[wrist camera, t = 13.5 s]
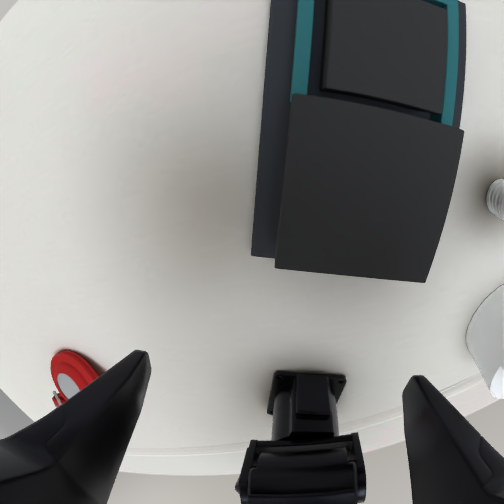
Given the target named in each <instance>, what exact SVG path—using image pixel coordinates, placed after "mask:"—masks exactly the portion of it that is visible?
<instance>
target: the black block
mask: <svg viewBox="0 0 504 504" xmlns="http://www.w3.org/2000/svg"><path fill="white" fill-rule="evenodd" d="M446 59H447V10H446V9H443V8H441V7H438V6H436V5H433V4H430V3H428V2H425V1H422V0H326V5H325V21H324V36H323V50H322V62H321V74H320V85H319V90H320V91H325V92H331V93H337V94H343V95H349V96H354V97H359V98H364V99H369V100H374V101H379V102H383V103H388V104H392V105H396V106H400V107H404V108H408V109H412V110H415V111H420V112H427V113H434V114H441V113H442V106H443V97H444V87H445V75H446Z"/></svg>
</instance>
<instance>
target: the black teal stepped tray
mask: <svg viewBox="0 0 504 504" xmlns="http://www.w3.org/2000/svg"><path fill="white" fill-rule="evenodd" d="M422 1H425V2H428V3H430V4H433V5H436V6H438V7H441V8H443V9H446V10H447V59H446V75H445V87H444V97H443V106H442V113H441V114H434V113H427V112H420V111H415V110H412V109H408V108H404V107H400V106H396V105H392V104H388V103H383V102H379V101H374V100H369V99H364V98H359V97H354V96H349V95H343V94H337V93H331V92H325V91H320V90H319V85H320V74H321V62H322V50H323V36H324V21H325V5H326V0H271V7H270V19H269V32H268V44H267V57H266V70H265V82H264V95H263V107H262V120H261V133H260V145H259V158H258V171H257V183H256V196H255V209H254V222H253V234H252V247H251V256H258V257H267V258H275V268H278V269H287V270H297V271H306V272H316V273H326V274H336V275H346V276H356V277H366V278H377V279H387V280H398V281H409V282H420V283H425V282H426V279H427V276H428V273H429V270H430V268H431V265H432V262H433V259H434V256H435V253H436V250H437V246H438V243H439V240H440V237H441V233H442V230H443V226H444V223H445V219H446V216H447V212H448V208H449V204H450V200H451V196H452V192H453V188H454V183H455V179H456V174H457V169H458V164H459V159H460V154H461V148H462V142H463V136H464V131H463V130H461V129H459V127H460V120H461V112H462V103H463V93H464V81H465V65H466V6H465V3H462V2H460V1H458V0H422Z"/></svg>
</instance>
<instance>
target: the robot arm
mask: <svg viewBox="0 0 504 504" xmlns="http://www.w3.org/2000/svg"><path fill="white" fill-rule="evenodd" d="M150 375H151V364H150V360H149V355H148V353H147V352H146V351H141V350H135V351H133V352H132V353H130V354H129V355H128V356H126V357H125V358H124V359H122V360H121V361H120V362H118V363H117V364H116V365H114V366H113V367H112V368H110V369H109V370H108V371H106V372H105V373H103V374H102V375H101V376H99V377H98V378H97V379H95V380H94V381H93V382H91V383H90V384H89V385H87V386H86V387H85V388H83V389H82V390H80V391H79V392H78V393H76V394H75V395H74V396H72V397H71V398H70V399H68V400H67V401H66V402H64V404H61V405H60V406H59V407H57V408H56V409H54V410H53V411H52V412H50V413H49V414H47V415H46V416H44V417H43V418H41V419H39V420H38V421H36V422H34V423H33V424H31V425H29V426H27V427H26V428H24V429H22V430H20V431H18V432H17V433H15V434H13V435H11V436H9V437H7V438H5V439H1V440H0V504H107V501H108V499H109V496H110V492H111V490H112V487H113V484H114V482H115V479H116V476H117V473H118V471H119V468H120V465H121V462H122V460H123V457H124V454H125V452H126V449H127V446H128V444H129V441H130V439H131V436H132V433H133V431H134V428H135V426H136V423H137V420H138V418H139V415H140V412H141V409H142V406H143V402H144V398H145V394H146V390H147V386H148V383H149V379H150ZM279 376H280V377H279ZM345 384H346V377H345V376H344V375H327V374H309V373H295V372H283V371H278V372H275V373H274V376H273V382H272V387H271V392H270V397H269V402H268V407H267V413H268V414H270V415H273V426H272V440H271V441H258V440H251V441H250V445H249V448H247V451H246V455H245V459H244V463H243V466H242V470H241V474H240V476H239V478H238V481H237V483H236V485H235V490H236V491H237V492H238V493H239V494H240V498H241V504H357V503H362V502H364V501H365V497H366V473H365V465H364V460H363V455H362V450H361V445H360V440H359V436H358V432H357V433H351V434H349V435H341V436H339V427H338V417H337V407H336V404H337V402H338V400H339V397H340V395H341V393H342V391H343V389H344V386H345ZM402 398H403V413H404V431H405V439H406V446H407V454H408V461H409V469H410V479H411V488H412V500H413V504H504V458H503V457H502V456H501V455H500V454H499V453H498V452H497V451H496V450H495V449H494V448H493V447H492V446H491V445H490V444H489V443H488V442H487V441H486V440H485V439H484V438H483V437H482V436H481V435H480V434H479V432H478V431H477V430H475V428H474V427H473V426H472V425H471V424H470V423H469V422H468V421H467V420H466V419H465V418H464V417H463V416H462V415H461V414H460V413H459V411H458V410H457V409H456V408H455V407H454V406H453V405H452V404H451V403H450V402H449V401H448V400H447V399H446V398H445V397H444V396H443V395H442V394H441V393H440V392H439V391H438V390H437V389H436V388H435V387H434V386H433V385H432V384H431V383H430V382H429V381H428V380H427V379H426V378H425V377H424V376H422V375H414V376H412V377H411V378H410V380H409V382H408V383H407V385H406V387H405V388H404V390H403V395H402Z"/></svg>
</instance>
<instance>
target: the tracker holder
mask: <svg viewBox="0 0 504 504" xmlns="http://www.w3.org/2000/svg"><path fill="white" fill-rule="evenodd" d="M51 374H52V378H53V381H54V383H55V385H56V387H57V389H58V391H59V392H60V393H58V394H57V393H56V391H53V394H54V397H53V398H52V400H53V402H54V404H55V406H56V407H59V406H60V405H61V404H64V402H66V401H67V400H68V399H70V398H71V397H72V396H74V395H75V394H76V393H78V392H79V391H80V390H82V389H83V388H85V387H86V386H87V385H89V384H90V383H91V382H93V381H94V380H95V379H97V378H98V377H99V376H98V375H97V373H96V372H95V371H94V370H93V368H92V367H91V366H90V365H89V364H88V362H87V361H86V360H85V359H84V358H82V357H81V356H80V355H78V354H76V353H74V352H72V351H68V350H64V351H61V352H59V353H58V354H56V355H55V356H54V357H53V358H52V360H51Z"/></svg>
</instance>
